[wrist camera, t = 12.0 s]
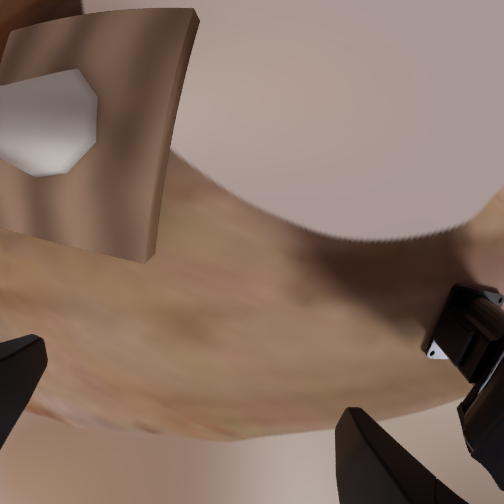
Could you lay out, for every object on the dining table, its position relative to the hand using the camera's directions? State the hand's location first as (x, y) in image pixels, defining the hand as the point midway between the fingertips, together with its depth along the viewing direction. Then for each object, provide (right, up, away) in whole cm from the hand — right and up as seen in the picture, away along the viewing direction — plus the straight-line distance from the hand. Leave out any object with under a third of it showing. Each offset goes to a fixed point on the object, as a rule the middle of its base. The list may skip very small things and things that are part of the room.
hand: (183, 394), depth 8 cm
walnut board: (-11, +13, +10) cm, 20 cm away
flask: (-11, +12, +9) cm, 18 cm away
